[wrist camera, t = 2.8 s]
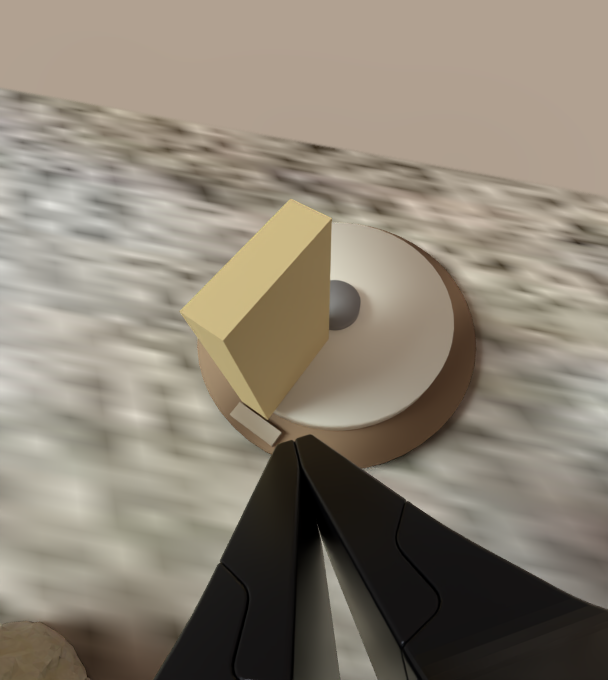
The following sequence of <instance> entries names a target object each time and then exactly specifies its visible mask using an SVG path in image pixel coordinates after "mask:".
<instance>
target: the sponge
mask: <svg viewBox="0 0 608 680" xmlns="http://www.w3.org/2000/svg"><path fill="white" fill-rule="evenodd" d="M0 680H91V679H90V678H88V677H87V675H86V670H85V667H84V666H83V664H82V663H81V661H80V660H79V658H78V657H77V654H76V652H75V650H74V648H73V646H72V645H71V644H69V643H68V642H67V641H66V640H65V638H64V637H63V636H62V635H60V634H59V633H58V632H56V631H54V630H53V629H51V628H49V627H48V626H46V625H44V624H42V623H40V622H36V623H33V622H28V621H23V622H11V623H6V624H3V625H2V624H0Z"/></svg>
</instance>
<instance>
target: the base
mask: <svg viewBox="0 0 608 680" xmlns="http://www.w3.org/2000/svg"><path fill="white" fill-rule="evenodd" d="M368 227H370V226H368ZM372 228H374V227H372ZM375 229H377V228H375ZM379 230H381V229H379ZM381 231H384V230H381ZM384 232H387V231H384ZM387 233H389V232H387ZM389 234H391V235H393V236H395V237H397V238H399V239H401V240H403V241H404V242H406V243H407V244H409V245H410V246H412V247H413V248H415V249H416V250H417V251H418V252H419V253H420V254H422V255H423V256H424V257H425V258H426V259H427V260H428V261H429V263H430V264H431V265H432V266H433V267H434V268H435V270H436V271H437V273H438V274H439V276H440V277H441V279H442V281H443V283H444V285H445V287H446V289H447V291H448V294H449V297H450V300H451V304H452V309H453V314H454V332H453V340H452V344H451V348H450V351H449V355H448V357H447V359H446V361H445V363H444V365H443V368H442V369H441V371H440V372H439V374H438V375H437V377H436V378H435V380H434V381H433V382H432V384H431V385H430V386H429V387H428V389H427V390H426V391H425V392H424V393H423V394H422V395H421V396H420V397H419V398H418V399H417V401H416V402H414V403H413V404H412V405H410V406H409V407H408V408H407V409H405V410H404V411H403V412H401V413H399V414H397V415H396V416H394V417H392V418H390V419H388V420H386V421H383V422H381V423H378V424H376V425H372V426H368V427H364V428H360V429H352V430H343V431H339V430H321V429H314V428H309V427H305V426H302V425H298V424H295V423H292V422H290V421H288V420H286V419H283V418H281V417H279V416H277V415H276V414H274V413H273V414H272V415H271V416H270V418H269V419H268V420H267V419H266V418H265V417H263V416H262V415H260V414H259V413H258V412H256V411H255V410H253V409H252V408H251V407H249V406H248V405H247V404H245V403H244V402H242V401H241V399H240V398H239V396H238V395H237V393H236V392H235V391H234V389H233V388H232V386H231V385H230V383H229V382H228V381H227V379H226V378H225V376H224V375H223V373H222V372H221V370H220V369H219V368H218V366H217V365H216V363H215V362H214V360H213V359H212V358H211V356H210V355H209V353H208V352H207V350H206V349H205V347H204V346H203V345H202V343H201V342H200V340H199V339H198V345H197V348H198V357H199V365H200V368H201V372H202V376H203V380H204V382H205V384H206V387H207V389H208V391H209V394H210V396H211V397H212V399H213V401H214V402H215V404H216V406H217V407H218V409H219V410H220V412H221V413H222V414H223V415H224V416H225V418H226V419H227V420H228V421H229V422H230V423H231V425H232V426H233V427H234V428H235V429H236V430H237V431H239V432H240V433H241V434H242V435H243V436H244V437H245V438H247V439H248V440H249V441H250V442H252V443H253V444H255V445H256V446H258V447H259V448H261V449H262V450H264V451H265V452H267V453H269V454H271V455H272V453H273V451H274V449H275V447H276V445H277V444H279V443H282V442H286V441H289V440H294V442H295V440H296V438H299V437H302V436H305V435H308V434H312V435H314V436H315V437H316V438H318V439H319V440H321V441H322V442H324V443H325V444H327V445H328V446H329V447H331V448H332V449H334V450H335V451H337V452H338V453H339V454H341V455H342V456H344V457H345V458H347V459H348V460H350V461H351V462H352V463H354V464H355V465H357V466H358V467H360V468H367V467H371V466H375V465H378V464H382V463H386V462H388V461H390V460H393V459H395V458H398V457H400V456H402V455H404V454H406V453H408V452H409V451H411V450H413V449H414V448H416V447H418V446H419V445H421V444H422V443H423V442H425V441H426V440H427V439H428V438H430V437H431V436H432V435H433V434H434V433H436V432H437V431H438V430H439V429H440V428H441V427H442V426H443V425H444V424H445V423H446V422H447V420H448V419H449V418H450V417H451V416H452V415H453V413H454V412H455V410H456V409H457V407H458V406H459V404H460V402H461V401H462V399H463V397H464V395H465V393H466V390H467V388H468V386H469V384H470V380H471V377H472V373H473V369H474V364H475V353H476V341H475V330H474V325H473V321H472V316H471V313H470V311H469V308H468V305H467V303H466V300H465V298H464V297H463V295H462V293H461V291H460V289H459V287H458V286H457V284H456V283H455V282H454V280H453V279H452V277H451V276H450V275H449V273H448V272H447V271H446V270H445V269H444V268H443V267H442V266H441V265H440V264H439V263H438V262H437V261H436V260H435V259H434V258H432V257H431V256H430V255H429V254H428V253H426V252H425V251H423V250H422V249H421V248H419V247H418V246H416V245H415V244H413V243H411V242H409V241H407V240H405V239H403V238H401V237H400V236H397V235H395V234H392V233H389Z"/></svg>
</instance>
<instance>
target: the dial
mask: <svg viewBox="0 0 608 680" xmlns="http://www.w3.org/2000/svg"><path fill="white" fill-rule="evenodd" d="M179 312H180V313H181V314H182V316H183V317H184V319H185V320H186V322H187V323H188V324H189V326H190V327H191V329H192V330H193V332H194V333H195V335H196V336H197V337H198V339H199V340H200V342H201V343H202V345H203V346H204V347H205V349H206V350H207V352H208V353H209V355H210V356H211V358H212V359H213V360H214V362H215V363H216V365H217V366H218V368H219V369H220V370H221V372H222V373H223V375H224V376H225V378H226V379H227V381H228V382H229V383H230V385H231V386H232V388H233V389H234V391H235V392H236V393H237V395H238V396H239V398H240V399H241V401H242V402H244V403H245V404H247V405H248V406H249V407H251V408H252V409H253V410H255V411H256V412H258V413H259V414H260V415H262V416H263V417H265V418H266V419H267V420H268V419H269V418H270V416H271V415H272V414H273V413H274V414H276V415H277V416H279V417H281V418H283V419H286V420H288V421H290V422H292V423H295V424H298V425H302V426H305V427H309V428H314V429H321V430H339V431H343V430H352V429H360V428H364V427H368V426H372V425H376V424H378V423H381V422H383V421H386V420H388V419H390V418H392V417H394V416H396V415H397V414H399V413H401V412H403V411H404V410H405V409H407V408H408V407H409V406H410V405H412V404H413V403H414V402H416V401H417V399H418V398H419V397H420V396H421V395H422V394H423V393H424V392H425V391H426V390H427V389H428V387H429V386H430V385H431V384H432V382H433V381H434V380H435V378H436V377H437V375H438V374H439V372H440V371H441V369H442V368H443V365H444V363H445V361H446V359H447V357H448V355H449V351H450V348H451V344H452V340H453V332H454V314H453V309H452V304H451V300H450V297H449V294H448V291H447V289H446V287H445V285H444V283H443V281H442V279H441V277H440V276H439V274H438V273H437V271H436V270H435V268H434V267H433V266H432V265H431V264H430V263H429V261H428V260H427V259H426V258H425V257H424V256H423V255H422V254H420V253H419V252H418V251H417V250H416V249H415V248H413V247H412V246H410V245H409V244H407V243H406V242H404V241H403V240H401V239H399V238H397V237H395V236H393V235H391V234H389V233H387V232H384V231H381V230H379V229H375V228H372V227H368V226H364V225H359V224H353V223H341V222H333V223H332V218H330V217H328V216H326V215H324V214H322V213H320V212H318V211H315V210H313V209H311V208H309V207H307V206H305V205H303V204H301V203H298V202H296V201H294V200H292V199H290V200H289V201H288V202H287V203H286V204H285V205H284V206H283V207H282V208H281V209H280V210H279V211H278V212H277V213H276V214H275V215H274V216H273V217H272V218H271V219H270V220H269V221H268V222H267V223H266V224H265V225H264V226H263V227H262V228H261V229H260V230H259V231H258V232H257V233H256V234H255V235H254V236H253V237H252V238H251V239H250V240H249V241H248V242H247V243H246V244H245V245H244V247H243V248H242V249H241V250H240V251H239V252H238V253H237V254H236V255H235V256H234V257H233V258H232V259H231V260H230V261H229V262H228V263H227V264H226V265H225V266H224V267H223V268H222V269H221V270H220V271H219V272H218V273H217V274H216V275H215V276H214V277H213V278H212V279H211V280H210V281H209V282H208V283H207V284H206V285H205V286H204V287H203V288H202V289H201V290H200V291H199V292H198V293H197V294H196V295H195V296H194V297H193V298H192V299H191V300H190V301H189V302H188V303H187V304H186V305H185V306H184V307H183V308H182V309H181V310H180V311H179Z"/></svg>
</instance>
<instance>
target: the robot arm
mask: <svg viewBox="0 0 608 680" xmlns="http://www.w3.org/2000/svg"><path fill="white" fill-rule="evenodd" d="M317 524H318V525H317ZM318 528H319V529H318ZM319 531H320V533H319ZM320 535H321V538H322V541H323V543H324V546H325V549H326V551H327V554H328V556H329V559H330V561H331V564H332V566H333V569H334V571H335V574H336V576H337V579H338V581H339V584H340V586H341V589H342V591H343V594H344V596H345V599H346V601H347V604H348V606H349V609H350V611H351V614H352V616H353V619H354V621H355V624H356V626H357V629H358V631H359V634H360V636H361V639H362V641H363V644H364V646H365V649H366V651H367V654H368V656H369V659H370V661H371V664H372V666H373V669H374V671H375V674H376V676H377V679H378V680H608V610H607V609H605V608H602V607H599V606H596V605H593V604H591V603H588V602H586V601H584V600H581V599H579V598H577V597H574V596H572V595H570V594H568V593H566V592H565V591H563V590H561V589H559V588H557V587H555V586H553V585H551V584H549V583H547V582H546V581H544V580H542V579H540V578H538V577H536V576H535V575H533V574H531V573H529V572H527V571H525V570H524V569H522V568H520V567H518V566H516V565H514V564H512V563H511V562H509V561H507V560H505V559H503V558H501V557H500V556H498V555H496V554H494V553H492V552H490V551H489V550H487V549H485V548H483V547H481V546H479V545H477V544H476V543H474V542H472V541H470V540H469V539H467V538H465V537H463V536H462V535H460V534H458V533H457V532H455V531H453V530H451V529H450V528H448V527H446V526H445V525H443V524H442V523H440V522H438V521H437V520H435V519H434V518H432V517H431V516H429V515H428V514H426V513H425V512H423V511H422V510H420V509H419V508H417V507H416V506H414V505H413V504H412V503H410V502H408V501H407V502H406V500H405V499H404V498H403V497H401V496H400V495H398V494H397V493H396V492H394V491H393V490H391V489H390V488H388V487H387V486H385V485H384V484H383V483H381V482H380V481H378V480H377V479H375V478H374V477H373V476H371V475H370V474H368V473H367V472H365V471H364V470H362V469H361V468H360V467H358V466H357V465H355V464H354V463H352V462H351V461H350V460H348V459H347V458H345V457H344V456H342V455H341V454H339V453H338V452H337V451H335V450H334V449H332V448H331V447H329V446H328V445H327V444H325V443H324V442H322V441H321V440H319V439H318V438H316V437H315V436H314V435H312V434H308V435H305V436H302V437H299V438H296V440H295V442H294V440H289V441H286V442H282V443H279V444H277V445H276V447H275V449H274V451H273V453H272V455H271V457H270V459H269V461H268V463H267V465H266V467H265V469H264V471H263V473H262V476H261V478H260V480H259V482H258V484H257V486H256V488H255V490H254V492H253V494H252V496H251V498H250V500H249V502H248V504H247V506H246V508H245V510H244V512H243V514H242V516H241V518H240V520H239V523H238V525H237V527H236V529H235V531H234V533H233V535H232V537H231V539H230V541H229V543H228V545H227V547H226V549H225V551H224V553H223V555H222V557H221V559H220V563H219V564H218V565H217V567H216V569H215V571H214V573H213V575H212V577H211V579H210V581H209V583H208V585H207V587H206V589H205V591H204V593H203V595H202V597H201V599H200V601H199V603H198V604H197V606H196V608H195V610H194V612H193V614H192V616H191V617H190V619H189V621H188V622H187V624H186V626H185V628H184V629H183V631H182V633H181V634H180V636H179V638H178V640H177V641H176V643H175V645H174V647H173V648H172V650H171V652H170V653H169V655H168V657H167V658H166V660H165V661H164V663H163V665H162V666H161V668H160V670H159V671H158V673H157V675H156V676H155V678H154V680H340V673H339V665H338V658H337V651H336V644H335V636H334V629H333V622H332V614H331V607H330V600H329V593H328V585H327V578H326V571H325V564H324V556H323V549H322V543H321V538H320Z"/></svg>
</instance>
